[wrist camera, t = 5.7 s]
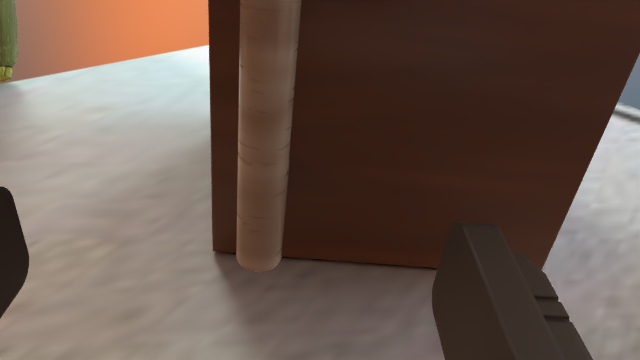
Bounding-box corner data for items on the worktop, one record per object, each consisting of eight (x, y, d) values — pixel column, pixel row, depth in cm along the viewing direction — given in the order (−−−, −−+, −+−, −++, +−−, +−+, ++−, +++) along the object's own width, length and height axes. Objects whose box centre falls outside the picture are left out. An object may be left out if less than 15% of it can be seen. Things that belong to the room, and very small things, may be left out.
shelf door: (589, 367, 20) (985, -286, 10) (188, 342, 19) (143, -412, 9) (532, 262, 25) (747, -233, 15) (215, 238, 24) (209, -308, 14)
